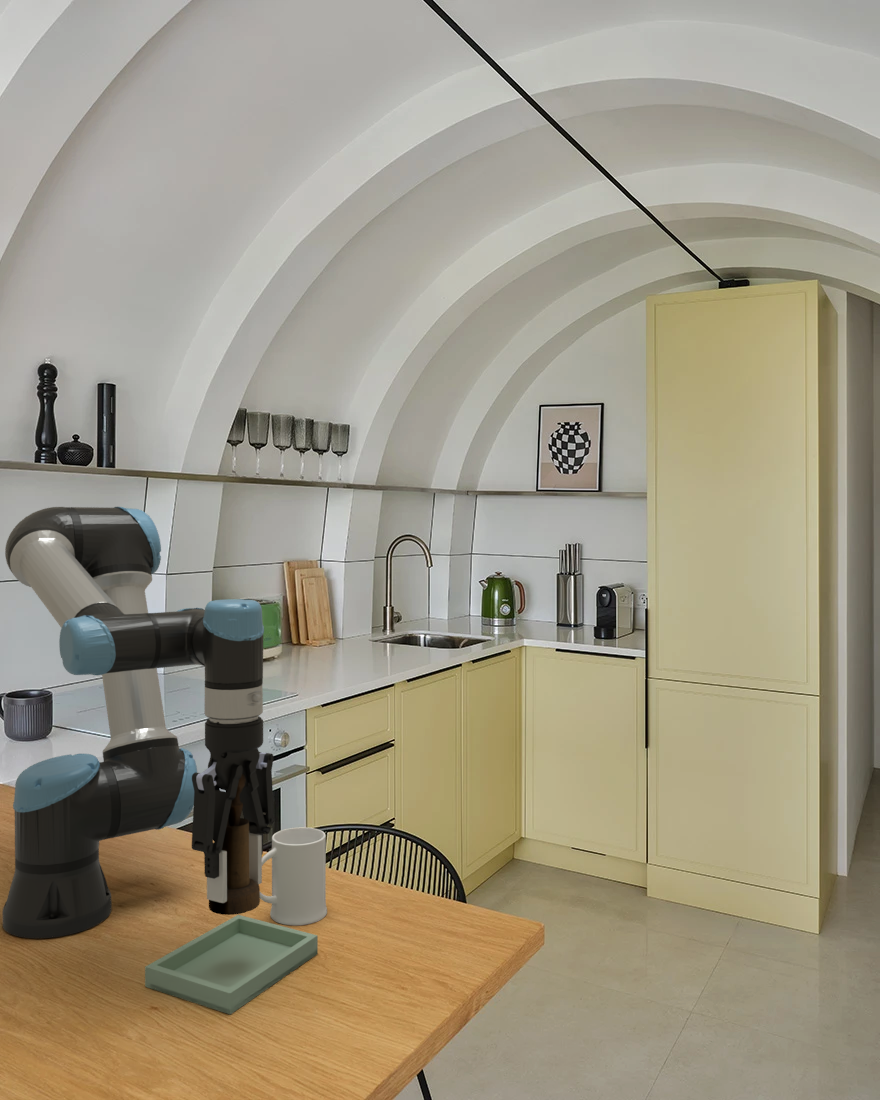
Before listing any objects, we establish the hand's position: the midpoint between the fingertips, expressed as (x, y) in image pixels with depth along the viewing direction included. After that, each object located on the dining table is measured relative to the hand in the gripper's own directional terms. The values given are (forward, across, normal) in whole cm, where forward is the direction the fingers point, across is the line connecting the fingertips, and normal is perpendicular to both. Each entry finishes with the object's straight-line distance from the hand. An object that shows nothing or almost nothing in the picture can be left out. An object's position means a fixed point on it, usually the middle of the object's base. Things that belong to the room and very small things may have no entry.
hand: (234, 890), depth 124 cm
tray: (+11, 0, 0) cm, 11 cm away
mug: (+11, +17, +4) cm, 21 cm away
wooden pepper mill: (+2, 0, 0) cm, 2 cm away
